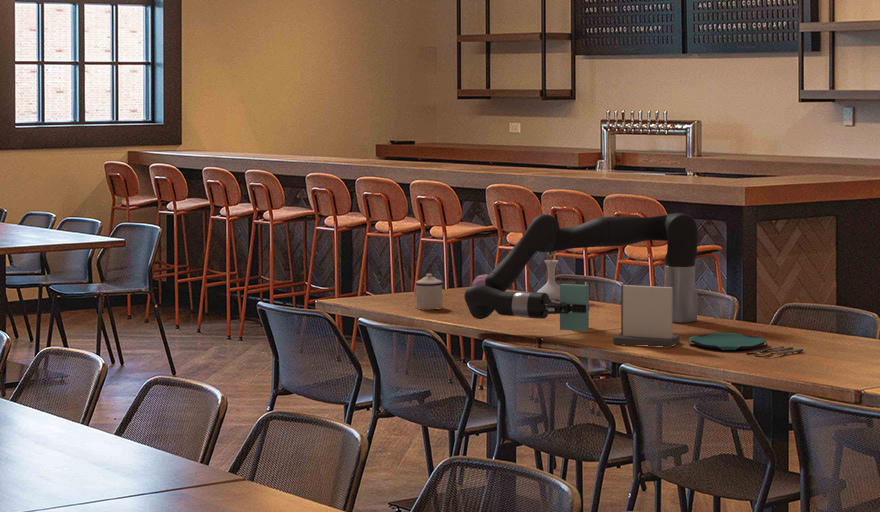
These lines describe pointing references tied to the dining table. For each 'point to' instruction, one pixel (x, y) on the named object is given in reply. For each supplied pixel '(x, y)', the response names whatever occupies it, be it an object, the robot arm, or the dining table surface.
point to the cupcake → (480, 280)
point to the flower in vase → (551, 280)
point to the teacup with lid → (428, 292)
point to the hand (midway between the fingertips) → (587, 308)
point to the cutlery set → (734, 342)
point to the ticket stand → (646, 316)
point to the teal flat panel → (575, 296)
